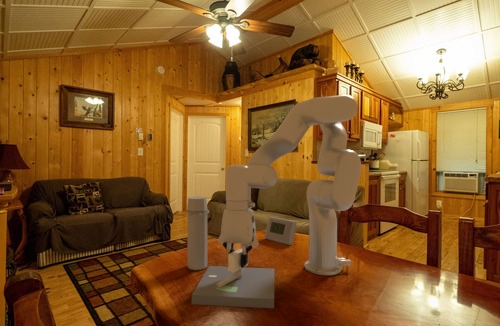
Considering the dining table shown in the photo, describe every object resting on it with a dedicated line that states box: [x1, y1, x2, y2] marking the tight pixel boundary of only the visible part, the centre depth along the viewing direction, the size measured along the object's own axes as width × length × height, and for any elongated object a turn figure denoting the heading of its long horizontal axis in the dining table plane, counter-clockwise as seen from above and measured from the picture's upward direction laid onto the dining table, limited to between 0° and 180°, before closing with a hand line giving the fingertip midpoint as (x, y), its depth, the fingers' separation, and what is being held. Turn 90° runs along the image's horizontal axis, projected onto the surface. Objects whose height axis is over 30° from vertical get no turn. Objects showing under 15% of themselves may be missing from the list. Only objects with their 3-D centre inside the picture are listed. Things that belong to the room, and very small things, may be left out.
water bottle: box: [185, 195, 210, 271], centre depth 99 cm, size 9×8×25 cm
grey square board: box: [191, 265, 275, 309], centre depth 83 cm, size 22×20×3 cm
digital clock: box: [264, 216, 298, 246], centre depth 131 cm, size 16×9×11 cm, turn 34°
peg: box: [217, 247, 249, 287], centre depth 83 cm, size 12×2×8 cm, turn 144°
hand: (237, 264), depth 85 cm, fingers closed on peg, 3 cm apart
